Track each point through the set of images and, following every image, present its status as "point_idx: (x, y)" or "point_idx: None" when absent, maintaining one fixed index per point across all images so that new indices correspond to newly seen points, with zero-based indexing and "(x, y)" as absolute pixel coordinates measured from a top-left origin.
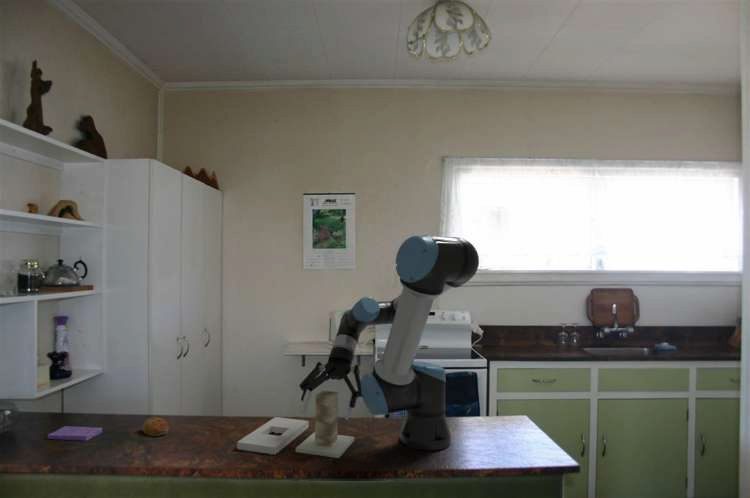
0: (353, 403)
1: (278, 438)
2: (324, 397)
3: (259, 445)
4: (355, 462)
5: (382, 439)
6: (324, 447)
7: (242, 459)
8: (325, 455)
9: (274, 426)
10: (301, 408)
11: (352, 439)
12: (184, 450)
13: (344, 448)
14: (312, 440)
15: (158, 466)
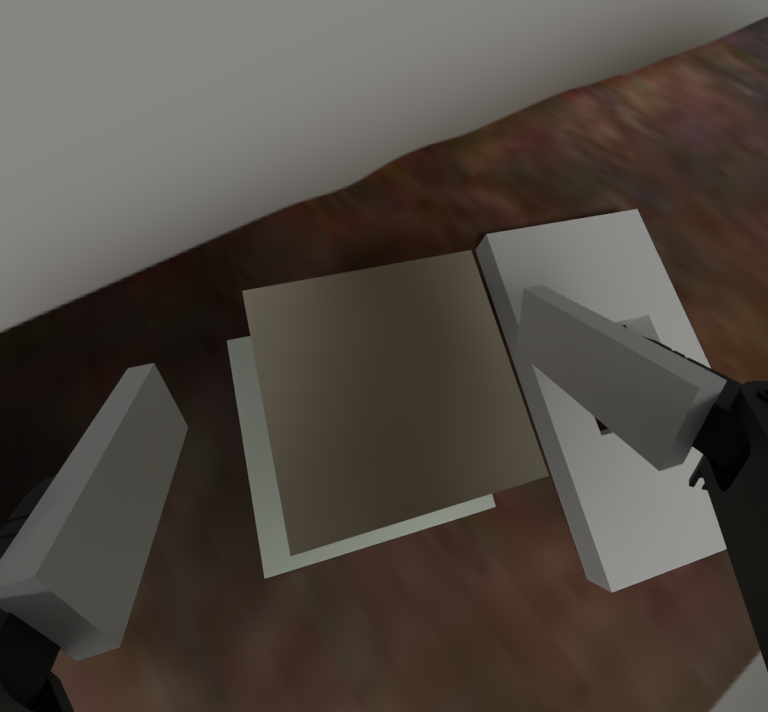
0: (25, 500)
1: None
2: (354, 280)
3: (549, 224)
4: (140, 346)
5: (114, 700)
6: None
7: (534, 177)
8: None
9: None
10: (540, 290)
11: (259, 542)
12: (722, 151)
13: (239, 413)
14: None
15: (669, 61)
